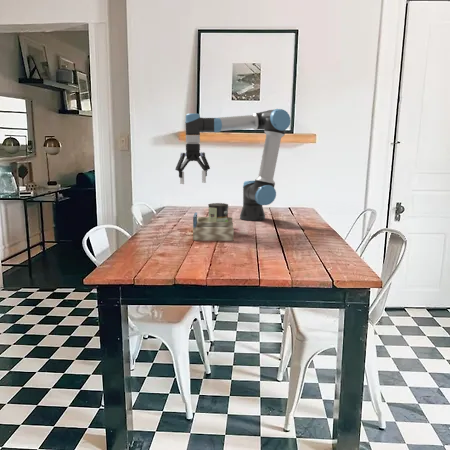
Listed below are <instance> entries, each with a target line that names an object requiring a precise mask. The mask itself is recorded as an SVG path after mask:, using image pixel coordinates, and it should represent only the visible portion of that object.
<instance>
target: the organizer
mask: <svg viewBox="0 0 450 450" xmlns="http://www.w3.org/2000/svg"><path fill="white" fill-rule="evenodd" d="M233 225H234V222H233V217H232V216H228V222H209V216H198V212H193V216H192V241H227V242H228V241H230V242H231V241H234V230H235V229H234V226H233Z"/></svg>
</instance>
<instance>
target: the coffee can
mask: <svg viewBox="0 0 450 450" xmlns="http://www.w3.org/2000/svg"><path fill="white" fill-rule="evenodd" d="M228 212H229V204H228V203H225V202H224V203H222V202H215V203H209V204H208V217H209V222H228V217H229V213H228Z"/></svg>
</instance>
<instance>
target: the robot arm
mask: <svg viewBox="0 0 450 450" xmlns="http://www.w3.org/2000/svg"><path fill="white" fill-rule="evenodd" d="M291 121H292V120H291V117H290V114H289V112H288V111H286V110H285V109H283V108H276V109H275V108H274V109H268V110H264V111H260V112H254V113H252V114H247V115H237V116H223V117H220V116H219V117H201V116H200V114H199V113H186V115H185V152H180V158H179V159H178V162H177V164H176V167H175V171H178V177H179V178H180V179H179V180H180V181H179V182H180V183H179V184H182V185H184V184H185V172H184V169H185V168H186V167H187V165H188V164H189V163H190V162H197V163H198V165H199V166H200V168H201V169H202V170H201V183H203V184H206V183H207V181H206V179H207V176H208V171H209V170H210V169H211V168H210V167H211V166H210V165H209V162H208V160H207V158H206V153H205V152H202V151H200V150H201V145H200V143H201V134H200V133H203V134H204V133H220V132H223V131H225V132H226V131H236V130H248V129H253V130H254V131H260V130H261V131H264V134H265V140H264V145H263V151H262V156H261V160H260V166H259V170H258V171H259V172H258V177H256V178H255V179H254V180H245V181H244V182H243V185H242V191H243V192H242V193H243V194H242V209H241V211H240V213H239V219H240V220H244V221H253V222H254V221H255V222H256V221H257V222H258V221H263V220H266V214H265V211H264V208H263V206H268V205H270V204H272V203H273V202H274V201H275V199H276V196H277V191H276V189H275V185H276V182H275V181H274V175H275V173H276V172H275V171H276V166H277V162H278V161H277V160H278V156H279V151H280V146H281V141H282V138H283V137H284V136H285V134H286V130H287V129H288V128H289V127H290V125H291ZM185 157H186V158H185Z"/></svg>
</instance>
